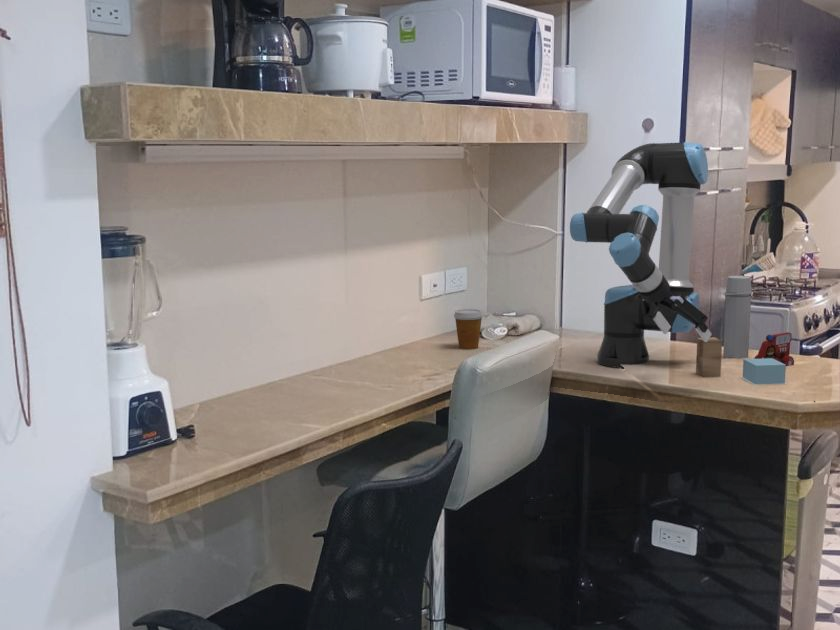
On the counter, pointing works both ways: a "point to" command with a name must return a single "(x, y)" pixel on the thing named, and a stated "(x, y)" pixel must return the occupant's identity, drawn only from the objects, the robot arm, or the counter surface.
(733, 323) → the water bottle
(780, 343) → the toy fire truck
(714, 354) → the walnut block
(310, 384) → the counter surface
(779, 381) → the teal block
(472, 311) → the disposable coffee cup
